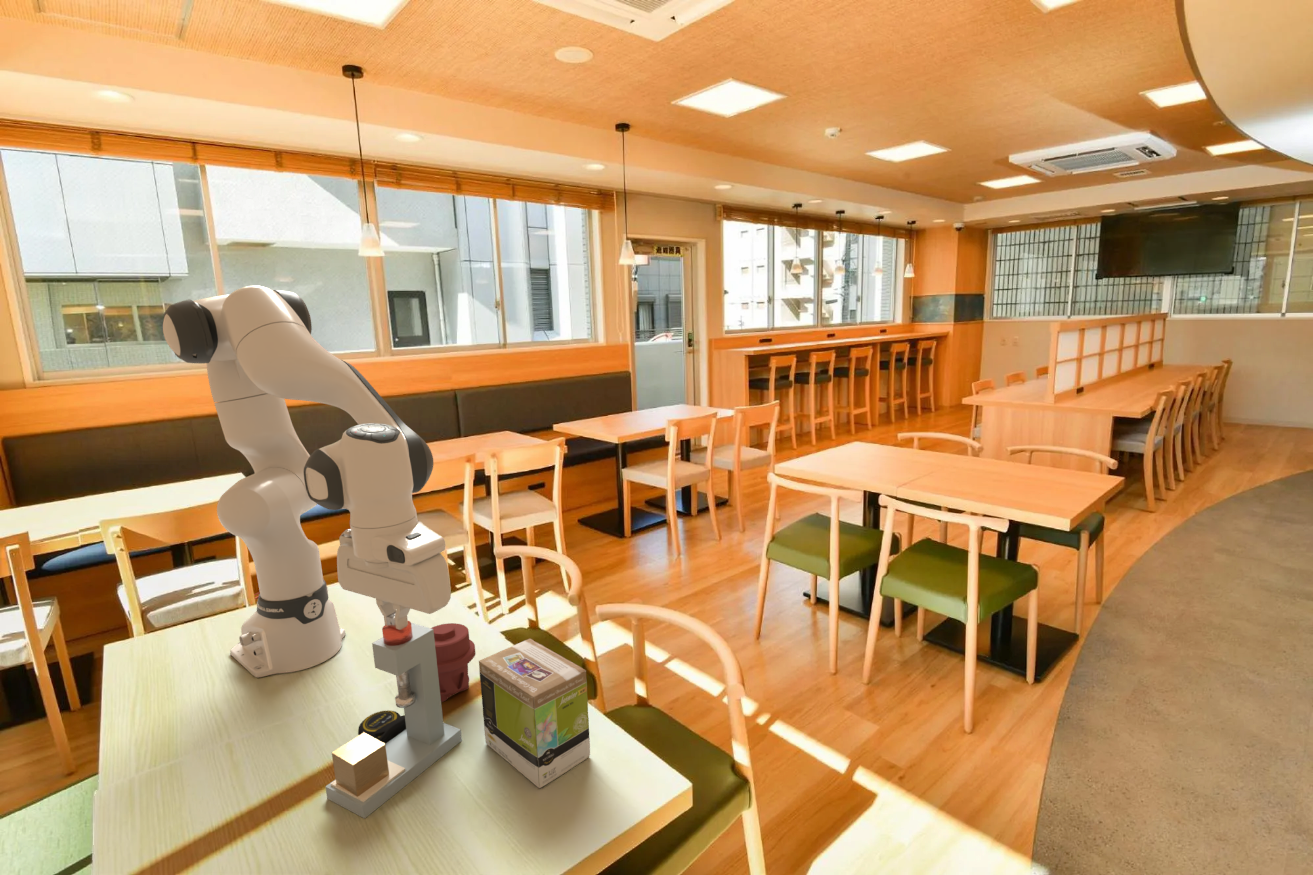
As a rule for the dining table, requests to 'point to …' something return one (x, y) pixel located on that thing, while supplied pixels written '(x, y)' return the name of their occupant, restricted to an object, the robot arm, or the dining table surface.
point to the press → (407, 723)
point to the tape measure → (383, 725)
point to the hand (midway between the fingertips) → (396, 626)
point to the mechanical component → (452, 658)
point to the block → (360, 764)
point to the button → (403, 681)
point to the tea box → (535, 710)
